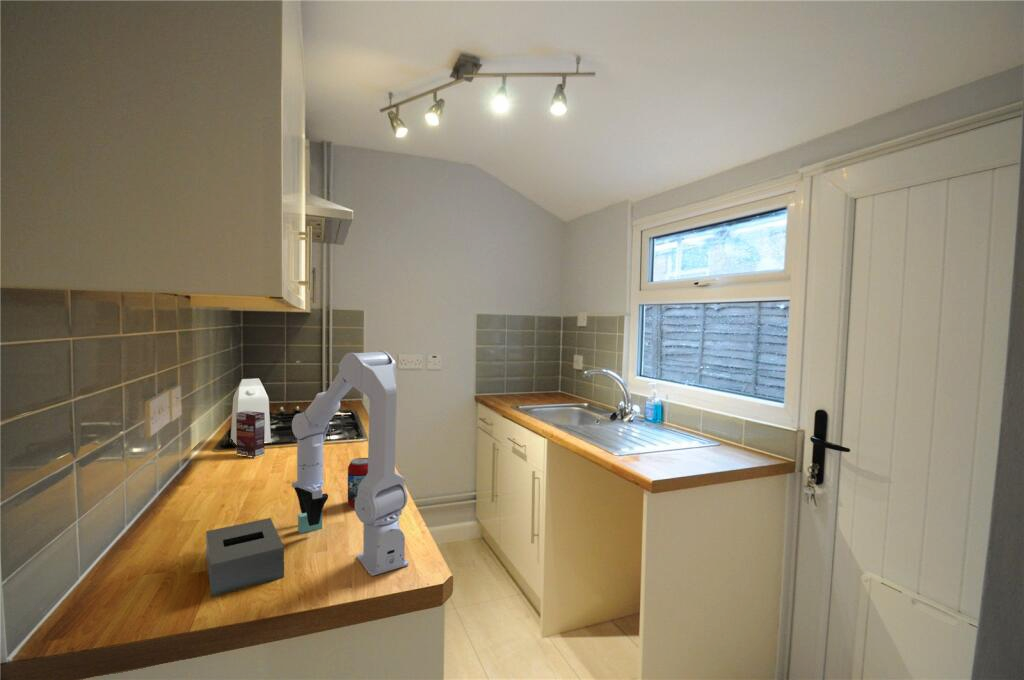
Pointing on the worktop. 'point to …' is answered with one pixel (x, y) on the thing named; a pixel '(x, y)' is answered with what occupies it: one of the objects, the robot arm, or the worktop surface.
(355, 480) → the beverage can
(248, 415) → the supplement box
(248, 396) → the milk
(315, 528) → the teal rectangular brick
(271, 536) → the coin box
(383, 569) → the robot arm
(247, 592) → the worktop surface
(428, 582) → the worktop surface
